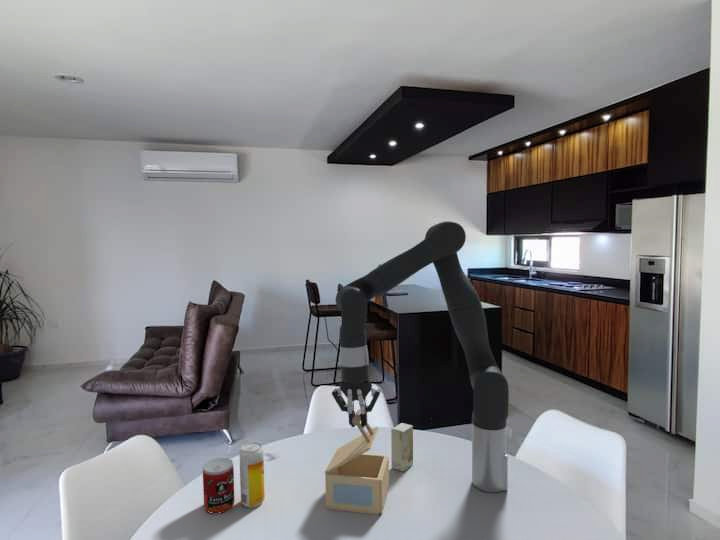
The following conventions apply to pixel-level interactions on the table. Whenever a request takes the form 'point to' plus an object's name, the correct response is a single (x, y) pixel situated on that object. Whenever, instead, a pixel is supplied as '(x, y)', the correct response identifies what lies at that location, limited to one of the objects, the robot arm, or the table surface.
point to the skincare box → (402, 446)
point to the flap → (353, 445)
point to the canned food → (218, 485)
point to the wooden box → (359, 485)
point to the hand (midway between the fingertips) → (358, 426)
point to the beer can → (252, 474)
